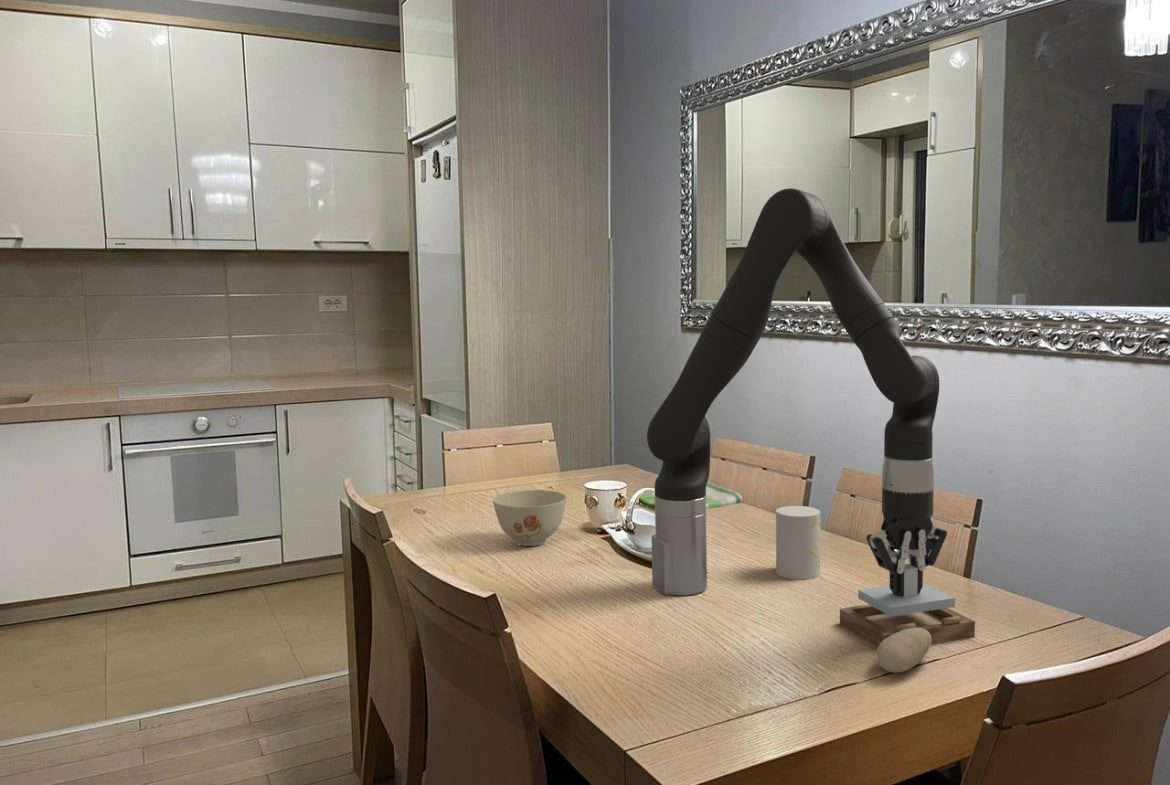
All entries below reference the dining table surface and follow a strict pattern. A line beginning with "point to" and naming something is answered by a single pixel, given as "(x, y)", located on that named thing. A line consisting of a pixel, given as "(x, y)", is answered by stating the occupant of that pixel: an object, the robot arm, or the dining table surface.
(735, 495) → the dish towel
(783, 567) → the grey upright cylinder
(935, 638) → the cabinet frame
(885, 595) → the panel with block handle
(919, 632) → the stone
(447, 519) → the dining table surface
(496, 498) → the bowl
